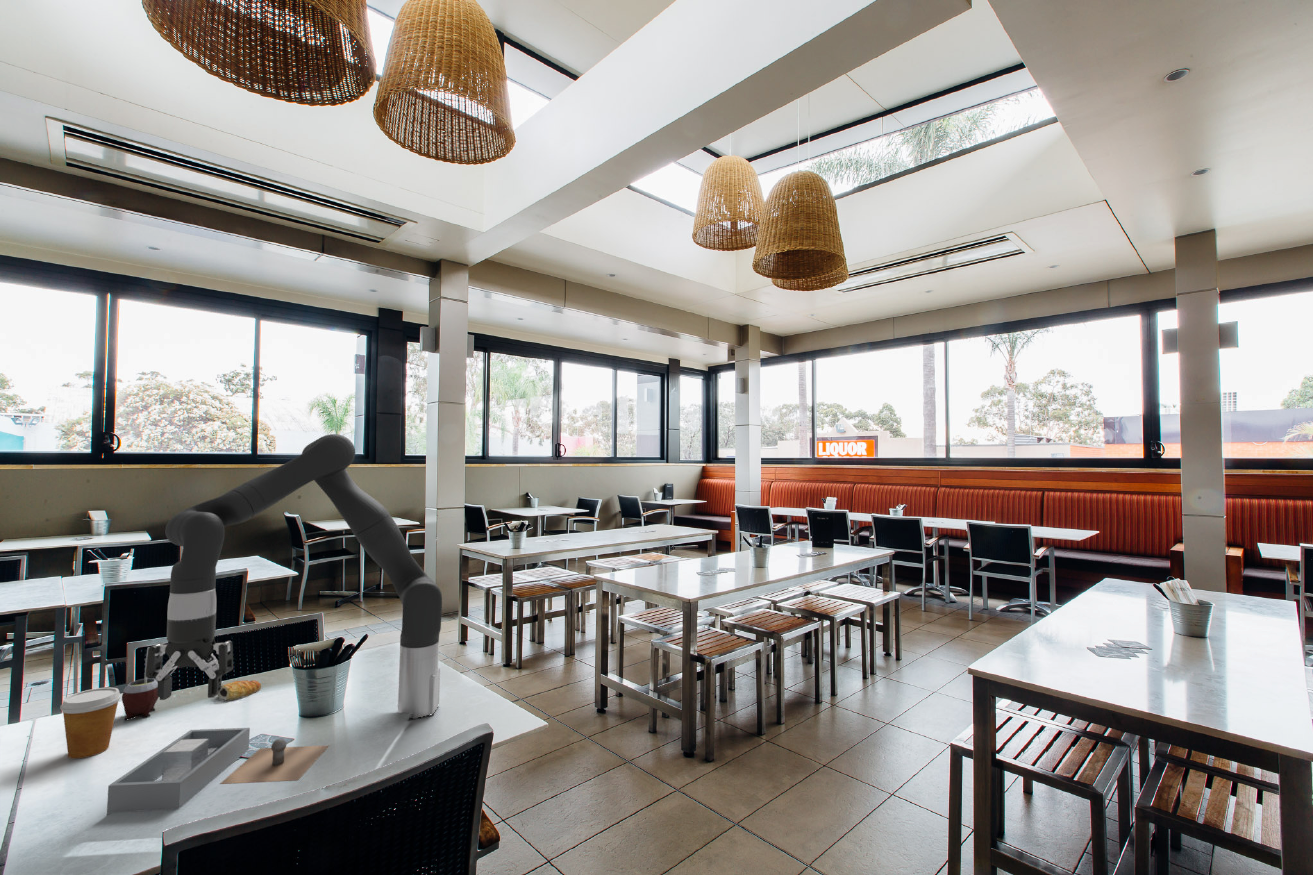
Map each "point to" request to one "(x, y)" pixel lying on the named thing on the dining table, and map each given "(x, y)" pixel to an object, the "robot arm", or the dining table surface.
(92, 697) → the disposable coffee cup
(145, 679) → the mate gourd
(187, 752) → the strut
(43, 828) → the dining table surface
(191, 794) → the bin
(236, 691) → the pastry
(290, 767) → the stud base
